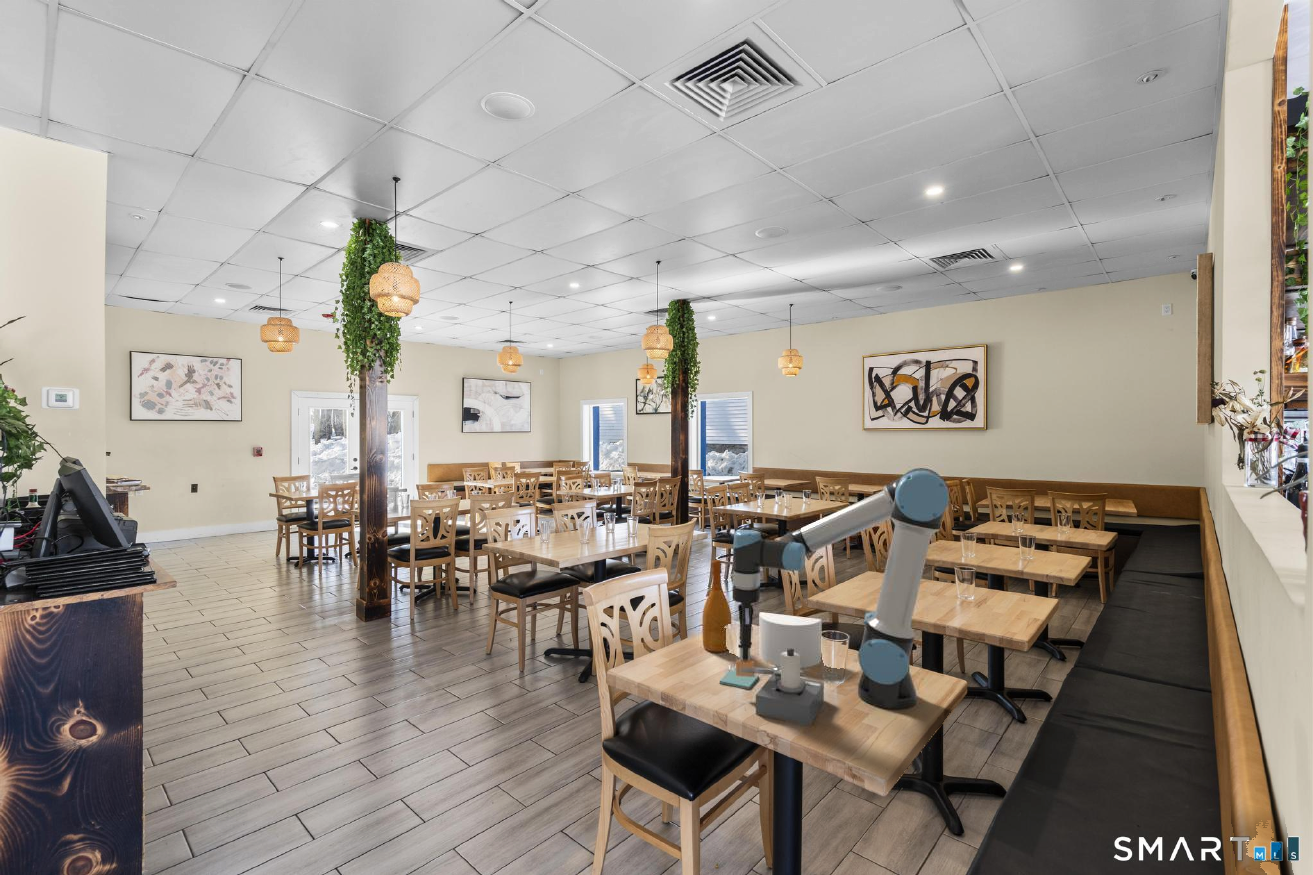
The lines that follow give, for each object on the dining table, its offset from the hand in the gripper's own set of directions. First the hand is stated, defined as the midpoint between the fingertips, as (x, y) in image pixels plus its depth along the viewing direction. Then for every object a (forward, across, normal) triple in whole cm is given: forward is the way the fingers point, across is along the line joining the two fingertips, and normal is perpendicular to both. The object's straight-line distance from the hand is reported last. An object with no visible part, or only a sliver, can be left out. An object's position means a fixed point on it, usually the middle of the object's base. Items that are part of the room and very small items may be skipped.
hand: (744, 669), depth 171 cm
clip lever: (+1, +2, +7) cm, 7 cm away
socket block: (+6, +8, +12) cm, 16 cm away
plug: (+7, +8, +12) cm, 16 cm away
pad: (+7, -8, -1) cm, 11 cm away
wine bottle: (+8, -35, -7) cm, 37 cm away
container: (+8, -29, +17) cm, 35 cm away
